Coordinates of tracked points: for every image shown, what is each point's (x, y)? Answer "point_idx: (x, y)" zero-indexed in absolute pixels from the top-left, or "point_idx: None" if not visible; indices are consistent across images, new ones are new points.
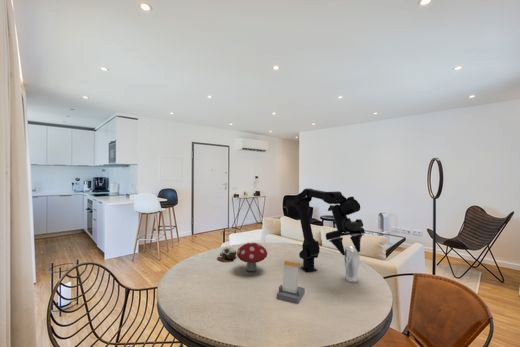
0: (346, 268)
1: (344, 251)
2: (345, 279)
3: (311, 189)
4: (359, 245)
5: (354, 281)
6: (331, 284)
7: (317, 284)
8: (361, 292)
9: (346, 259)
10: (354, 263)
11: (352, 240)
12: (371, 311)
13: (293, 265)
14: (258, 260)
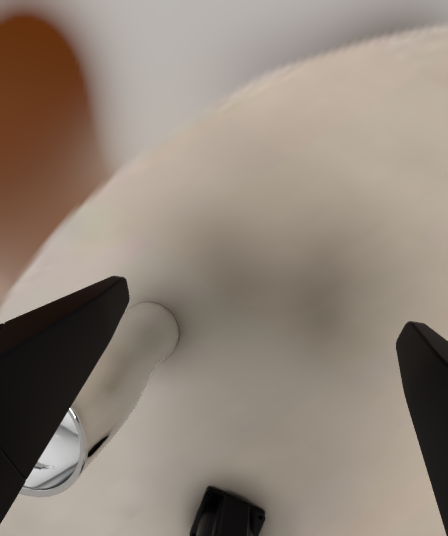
0: (153, 369)
1: (434, 348)
2: (174, 347)
3: None
4: (53, 311)
5: (160, 308)
6: (268, 361)
7: (325, 401)
8: (219, 233)
9: (134, 398)
10: (119, 340)
11: (10, 484)
12: (340, 105)
13: None
14: None
